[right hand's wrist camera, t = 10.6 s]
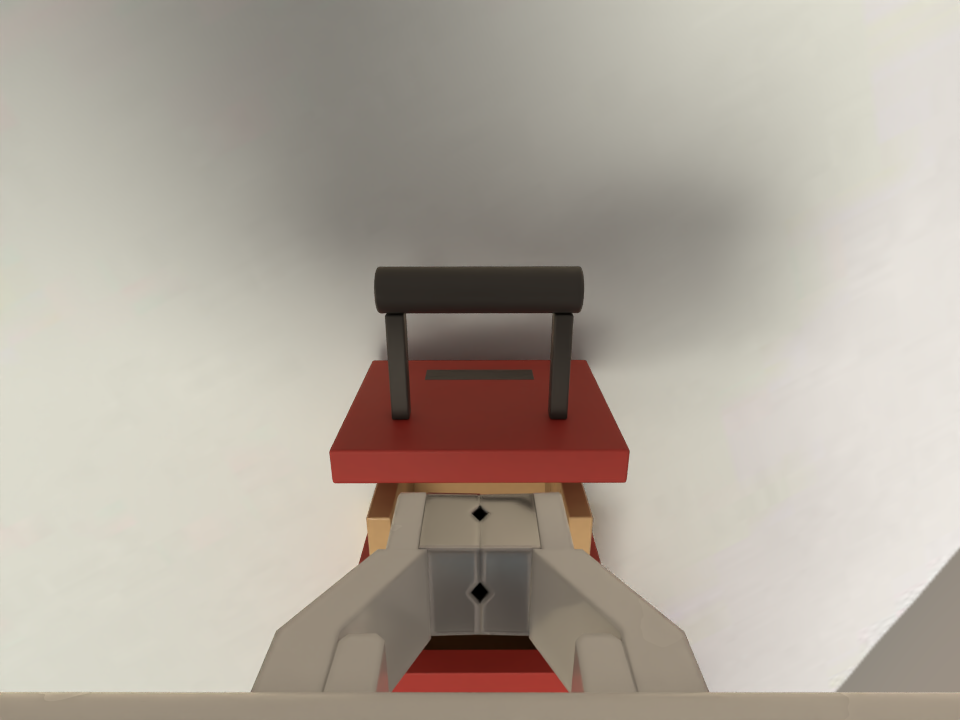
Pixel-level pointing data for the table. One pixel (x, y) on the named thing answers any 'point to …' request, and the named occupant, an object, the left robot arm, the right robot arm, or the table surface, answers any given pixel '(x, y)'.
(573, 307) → the drawer
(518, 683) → the red drawer cabinet
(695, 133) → the table surface
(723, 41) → the table surface
